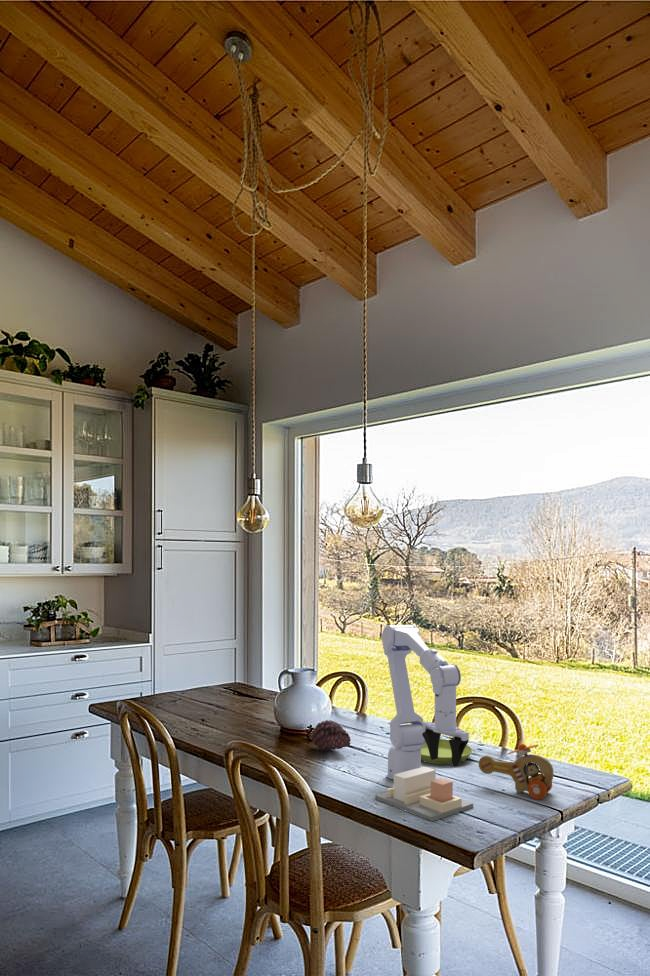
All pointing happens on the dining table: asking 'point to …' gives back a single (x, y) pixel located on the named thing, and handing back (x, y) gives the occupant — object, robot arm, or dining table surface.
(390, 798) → the assembly jig
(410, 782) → the block
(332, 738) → the pine cone
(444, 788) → the block
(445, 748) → the saucer
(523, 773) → the toy helicopter
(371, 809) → the dining table surface
